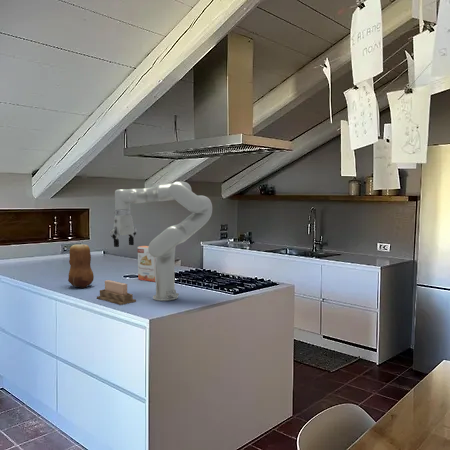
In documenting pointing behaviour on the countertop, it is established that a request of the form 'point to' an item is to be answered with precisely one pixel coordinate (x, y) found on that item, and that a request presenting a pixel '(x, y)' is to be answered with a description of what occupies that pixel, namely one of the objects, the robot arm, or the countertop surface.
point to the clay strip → (116, 287)
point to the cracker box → (146, 265)
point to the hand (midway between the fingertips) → (124, 245)
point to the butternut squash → (80, 266)
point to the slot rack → (116, 297)
